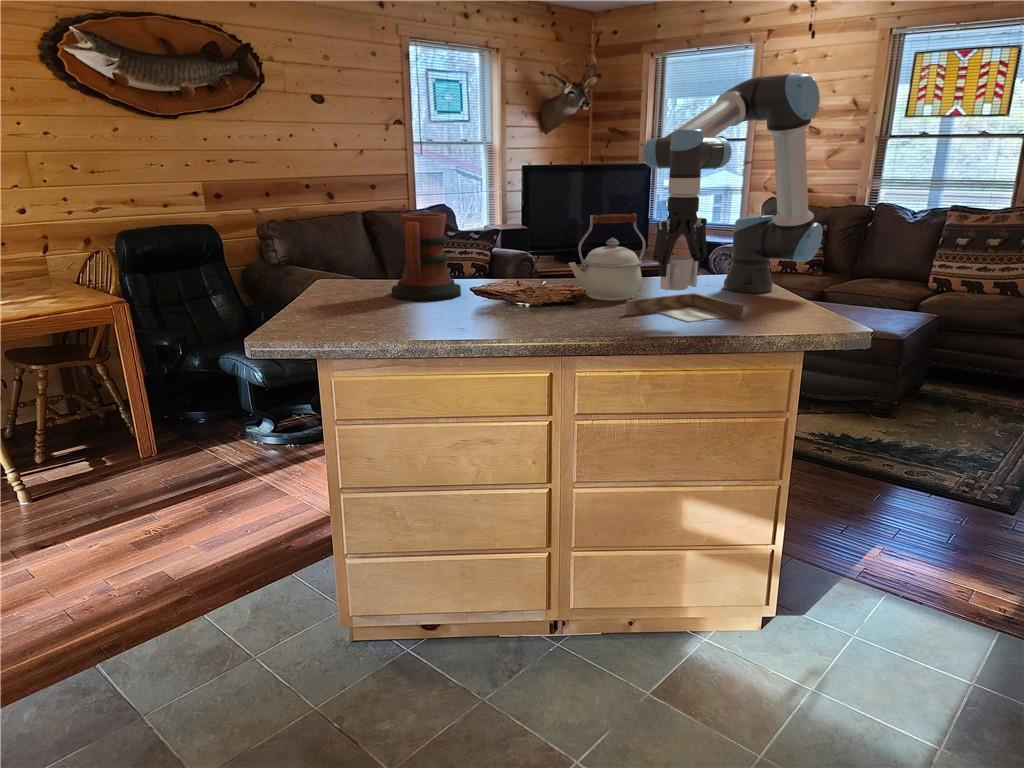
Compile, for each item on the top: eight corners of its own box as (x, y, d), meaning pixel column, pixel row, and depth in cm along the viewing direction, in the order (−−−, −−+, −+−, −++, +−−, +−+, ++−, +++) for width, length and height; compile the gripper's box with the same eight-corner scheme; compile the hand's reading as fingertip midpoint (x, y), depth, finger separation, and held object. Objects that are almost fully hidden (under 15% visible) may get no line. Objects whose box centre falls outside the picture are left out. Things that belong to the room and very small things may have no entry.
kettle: (628, 289, 238) (632, 210, 230) (656, 299, 221) (661, 215, 214) (557, 294, 230) (558, 213, 223) (580, 305, 214) (582, 218, 206)
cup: (691, 294, 181) (694, 262, 178) (658, 293, 182) (660, 261, 180) (690, 286, 191) (692, 255, 188) (659, 285, 192) (661, 255, 190)
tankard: (468, 289, 238) (467, 212, 230) (449, 305, 215) (446, 219, 207) (404, 287, 242) (400, 211, 234) (377, 302, 218) (372, 218, 211)
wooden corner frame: (692, 306, 211) (693, 293, 210) (742, 320, 194) (743, 305, 193) (625, 314, 201) (626, 300, 200) (671, 329, 184) (672, 314, 183)
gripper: (706, 192, 187) (700, 281, 194) (639, 196, 178) (636, 289, 186) (727, 194, 181) (720, 286, 188) (658, 198, 172) (654, 294, 179)
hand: (678, 287), depth 187 cm, fingers closed on cup, 8 cm apart
